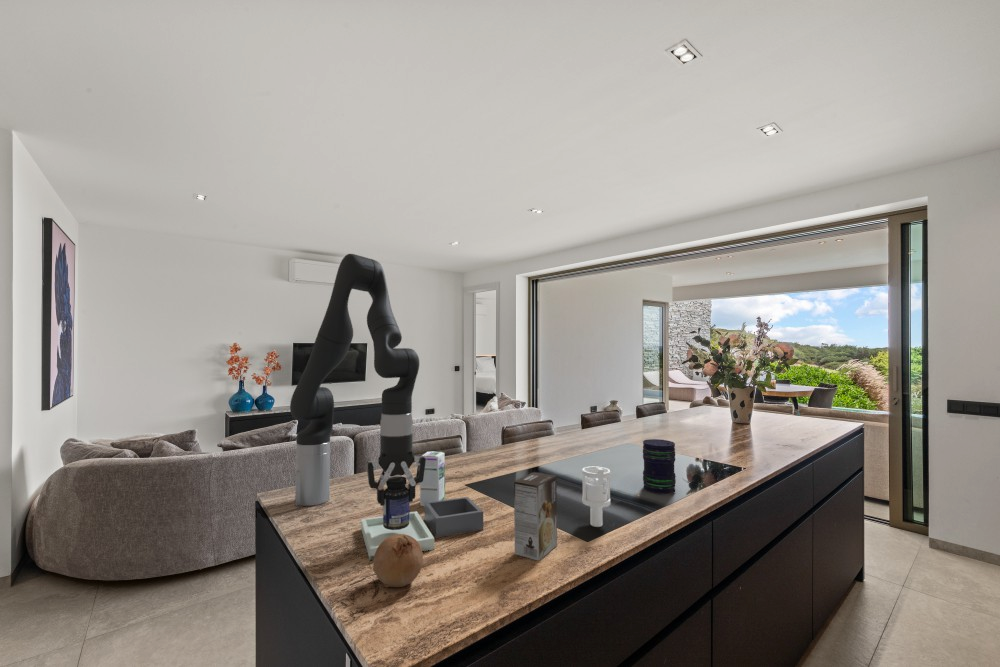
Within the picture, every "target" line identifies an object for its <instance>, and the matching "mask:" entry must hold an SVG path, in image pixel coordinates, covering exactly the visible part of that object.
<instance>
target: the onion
mask: <svg viewBox="0 0 1000 667" xmlns="http://www.w3.org/2000/svg"><path fill="white" fill-rule="evenodd" d="M423 553H424V552H422V549H421V546H420V545H419V543H418V542H417V541H416V540H415V539H414V538H413V537H411V536H409V535H405V534H396V535H392V536H390V537H388V538H386V539H385V540H384V541H383V542H382V543H381V544H380V545H379V547H378V548H377V550H376V552H375V555H374V559H373V561H372V566H373V568H372V570H373V572H374V573H375V575H376V577H377V579H378V581H380V582H381V583H383V586H384V587H385V588H403V587H405V586H407V585H410V584H411V583H413V582H414V580H415V579H416V578H417V577H418V576H419V574H420V572H421V569H422V566H423V562H424V554H423Z"/></svg>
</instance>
